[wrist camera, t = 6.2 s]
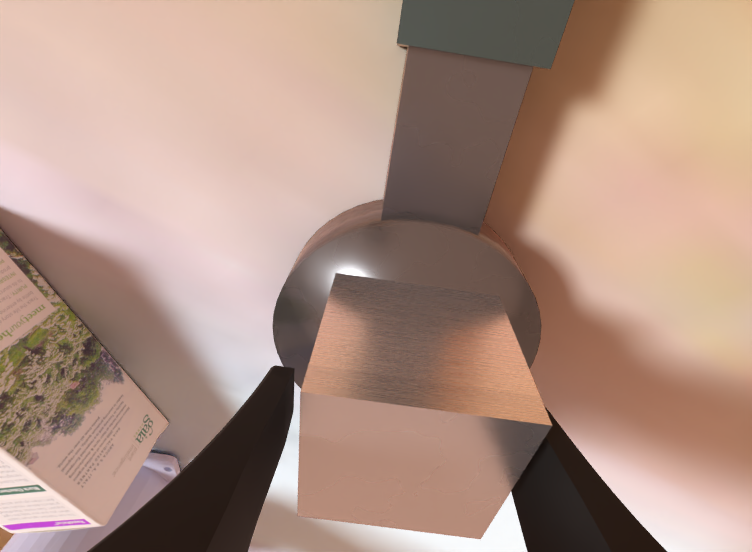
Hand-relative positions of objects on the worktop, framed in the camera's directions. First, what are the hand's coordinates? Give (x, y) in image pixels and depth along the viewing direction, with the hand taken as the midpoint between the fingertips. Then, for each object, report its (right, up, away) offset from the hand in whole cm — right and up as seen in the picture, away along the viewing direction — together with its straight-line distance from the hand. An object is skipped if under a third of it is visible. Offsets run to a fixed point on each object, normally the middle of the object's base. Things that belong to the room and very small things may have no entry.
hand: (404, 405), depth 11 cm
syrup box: (-19, +5, +1) cm, 20 cm away
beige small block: (0, +1, +2) cm, 3 cm away
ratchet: (+1, +7, +2) cm, 7 cm away
